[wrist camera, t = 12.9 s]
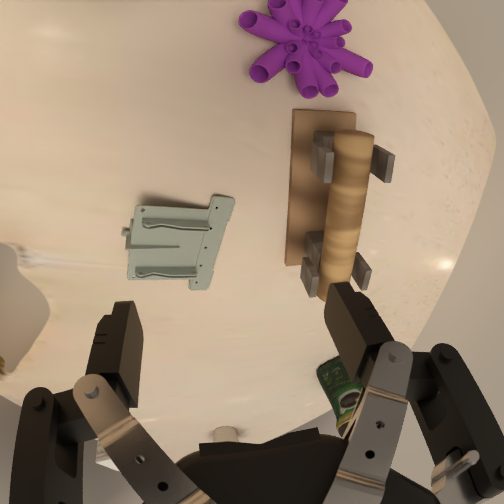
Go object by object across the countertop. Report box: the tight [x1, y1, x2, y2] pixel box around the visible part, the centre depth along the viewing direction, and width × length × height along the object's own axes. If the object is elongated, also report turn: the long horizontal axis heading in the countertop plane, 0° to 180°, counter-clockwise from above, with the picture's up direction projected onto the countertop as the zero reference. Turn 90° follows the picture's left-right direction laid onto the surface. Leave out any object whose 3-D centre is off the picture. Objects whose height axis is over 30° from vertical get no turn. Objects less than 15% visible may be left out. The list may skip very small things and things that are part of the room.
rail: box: [316, 129, 374, 302], centre depth 34 cm, size 20×4×4 cm, turn 0°
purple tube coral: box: [239, 0, 373, 99], centre depth 27 cm, size 11×15×10 cm
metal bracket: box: [122, 196, 235, 290], centre depth 42 cm, size 14×6×15 cm
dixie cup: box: [214, 426, 239, 442], centre depth 70 cm, size 8×8×10 cm
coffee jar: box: [317, 357, 363, 437], centre depth 57 cm, size 10×8×19 cm
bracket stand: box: [285, 109, 395, 298], centre depth 37 cm, size 22×8×11 cm, turn 0°
